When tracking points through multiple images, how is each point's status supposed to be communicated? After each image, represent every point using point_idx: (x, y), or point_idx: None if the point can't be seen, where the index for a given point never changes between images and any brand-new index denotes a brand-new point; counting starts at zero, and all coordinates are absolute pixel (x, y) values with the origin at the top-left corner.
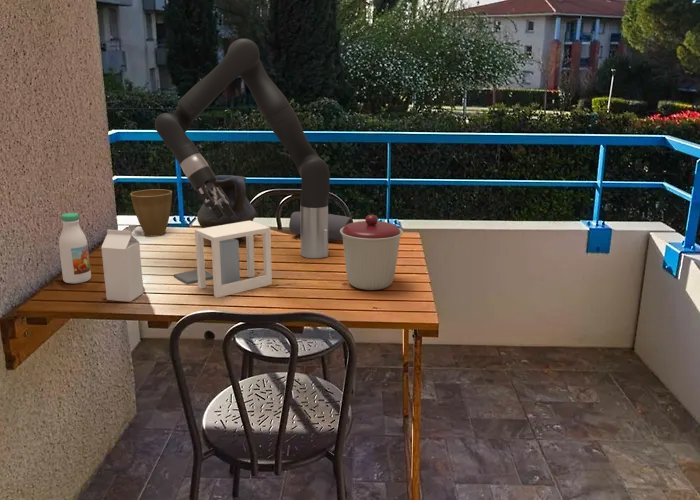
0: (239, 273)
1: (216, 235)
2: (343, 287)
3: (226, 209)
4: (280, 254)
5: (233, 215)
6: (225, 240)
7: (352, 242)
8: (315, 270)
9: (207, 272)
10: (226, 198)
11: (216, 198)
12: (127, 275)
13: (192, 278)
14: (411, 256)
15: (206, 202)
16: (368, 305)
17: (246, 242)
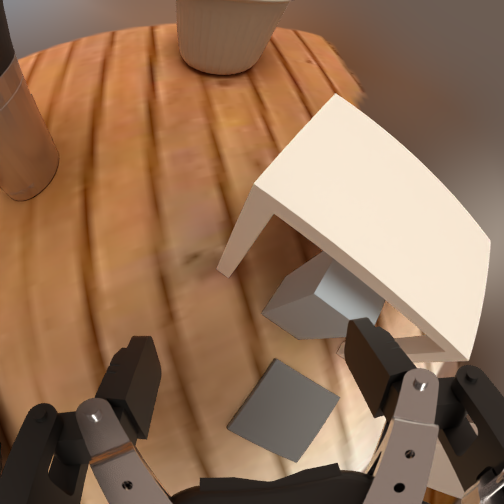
0: (295, 270)
1: (480, 242)
2: (243, 84)
3: (144, 403)
4: (23, 253)
5: (150, 339)
6: (365, 284)
7: (285, 6)
8: (145, 135)
9: (255, 394)
10: (47, 444)
11: (404, 419)
12: (470, 423)
13: (314, 402)
14: (67, 46)
15: (451, 434)
16: (305, 65)
17: (252, 243)
